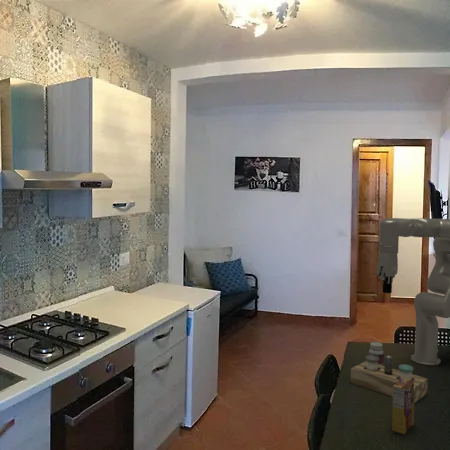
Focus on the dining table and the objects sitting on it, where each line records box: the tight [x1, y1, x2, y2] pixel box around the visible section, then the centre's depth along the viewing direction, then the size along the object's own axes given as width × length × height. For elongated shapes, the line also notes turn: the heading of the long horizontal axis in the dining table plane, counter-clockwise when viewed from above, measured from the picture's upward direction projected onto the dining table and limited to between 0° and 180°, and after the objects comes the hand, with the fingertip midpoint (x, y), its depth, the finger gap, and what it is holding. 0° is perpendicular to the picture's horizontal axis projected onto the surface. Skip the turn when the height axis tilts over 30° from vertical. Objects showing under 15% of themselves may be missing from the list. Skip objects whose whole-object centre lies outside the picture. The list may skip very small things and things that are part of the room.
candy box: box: [391, 378, 415, 435], centre depth 158 cm, size 9×4×15 cm, turn 140°
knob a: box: [365, 354, 379, 372], centre depth 194 cm, size 5×5×8 cm
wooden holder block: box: [350, 360, 428, 404], centre depth 190 cm, size 12×26×6 cm, turn 45°
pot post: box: [384, 354, 394, 375], centre depth 189 cm, size 3×3×7 cm
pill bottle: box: [368, 341, 385, 366], centre depth 209 cm, size 6×6×11 cm
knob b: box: [398, 363, 414, 380], centre depth 184 cm, size 5×5×8 cm
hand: (387, 292), depth 202 cm, fingers closed
